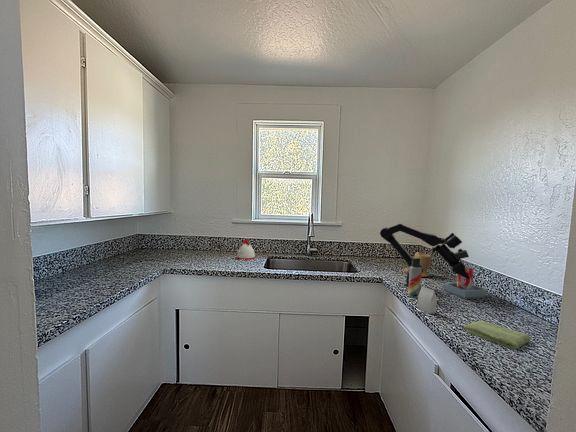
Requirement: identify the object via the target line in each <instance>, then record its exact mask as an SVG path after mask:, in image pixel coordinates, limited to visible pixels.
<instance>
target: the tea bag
mask: <svg viewBox="0 0 576 432" xmlns="http://www.w3.org/2000/svg"><path fill="white" fill-rule="evenodd" d="M437 300H438V299H437V296H436V291H435V290H433V289H431V288H427V287H425V286H421V290H420V292H419V295H418V298H417V309H418V310H421V311H423V312H424V313H428V314H429V315H431V314H436V313H437Z"/></svg>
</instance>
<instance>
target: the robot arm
mask: <svg viewBox="0 0 576 432" xmlns="http://www.w3.org/2000/svg"><path fill="white" fill-rule="evenodd" d="M397 232H398V233H399V232H401V233H404V234H407V235H409V236H412V237H413V238H417V239H420V240H421V241H423V242H424V243H426V244H428V245H429V246H431V248H432V249H431V250H432V251H431V253H435V252H436V253H437V254H438V255H439V256H440V257H441V258H442V260H444V262H446V263H447V264H448V265H449V267H450V269H451V271H452V272H453V273H454V274H457V275H458V274H459V275H461V276H463V277H465V278H467V279H469V278H470V277H469V276H468V274H467V272H466V271H465V264H464V263H463V260H462V259H465V258H469V253H468V251H467V250H465V249H462V248H458V246H459V245H461V244H462V243H463V241H462V240H461V239H460V238H459V237H458V236H457V235H456V234H455V233H453V232H451V233H450V234H449V235H447V237H445V238H443V237H439V236H437V235H436V234H433V233H432V234H431V233H427V232H422V231H420V230H417V229H415V228H412V227H410V226H407V225H404V224H403V223H398V224H396V225H393V226H390V227H383V228H382V229H381V230H380V233H379V235H380V237H381V238H382V239H383V240H385V241H387V242H388V243H389V244H390V245H391V246H392V247H393V248H394V249H395V251H396V252H397V253H398V255H400V256H401V257H402V258H403V260H405V262H406V264H407V265H408V268H409V267H410V266H412V258H413V257H412V256H411V255H410V254H409V253H408V251H407V250H406V249H405V248H404V247H403V246H402V244H401V243H400V241H398V240H397V239H396V236H395V235H394V234H397ZM456 247H457V248H458V249H457V252H453V251H452V250H451V249H455V248H456ZM420 267H421V268H422V273H423V267H422V263H420ZM409 271H410V269H409V270H408V272H407V274H406V278H405V279H406V281H405V283H406V284H404V287H407V288H409Z"/></svg>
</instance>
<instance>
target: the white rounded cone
mask: <svg viewBox="0 0 576 432" xmlns="http://www.w3.org/2000/svg"><path fill="white" fill-rule="evenodd" d="M242 243H243V244H242V245H241V246H240V247H239V249H238V250H237V256H236V258H239V259H245V260H244V261H250V260H249V259H253V260H255V259H256V254H255V249H253V247H252V245H251V244H250V242H249V240H248V239H246V238H245V239H243V242H242ZM254 258H255V259H254ZM239 259H238V260H239Z"/></svg>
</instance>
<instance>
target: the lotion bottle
mask: <svg viewBox="0 0 576 432" xmlns="http://www.w3.org/2000/svg"><path fill="white" fill-rule="evenodd" d="M421 274H422V268H421V267H420V259H419V258H414V257H412V266H410V271H409V287H408V289H407V290H408V291H407V292H408V293H407V296H409V297H410V298H413V299H418V295H419V292H420V290H421V287H422V276H421Z"/></svg>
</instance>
